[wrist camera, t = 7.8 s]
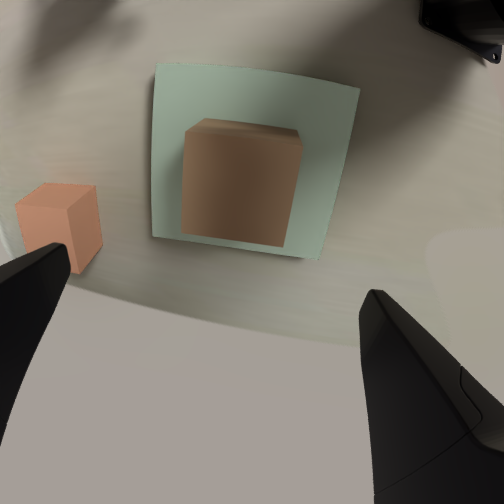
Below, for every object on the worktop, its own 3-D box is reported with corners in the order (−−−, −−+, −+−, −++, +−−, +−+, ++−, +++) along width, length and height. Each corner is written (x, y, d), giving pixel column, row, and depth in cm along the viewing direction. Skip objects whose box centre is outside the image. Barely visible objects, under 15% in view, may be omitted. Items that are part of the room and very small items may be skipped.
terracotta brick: (96, 185, 20) (66, 209, 17) (103, 244, 23) (79, 274, 19) (46, 182, 20) (14, 204, 17) (56, 237, 23) (30, 263, 19)
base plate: (353, 87, 15) (360, 88, 14) (316, 248, 21) (318, 260, 20) (165, 63, 15) (156, 63, 14) (159, 225, 21) (152, 236, 20)
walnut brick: (296, 130, 16) (303, 146, 12) (281, 212, 18) (283, 247, 15) (204, 118, 16) (185, 131, 12) (198, 200, 18) (181, 233, 15)
